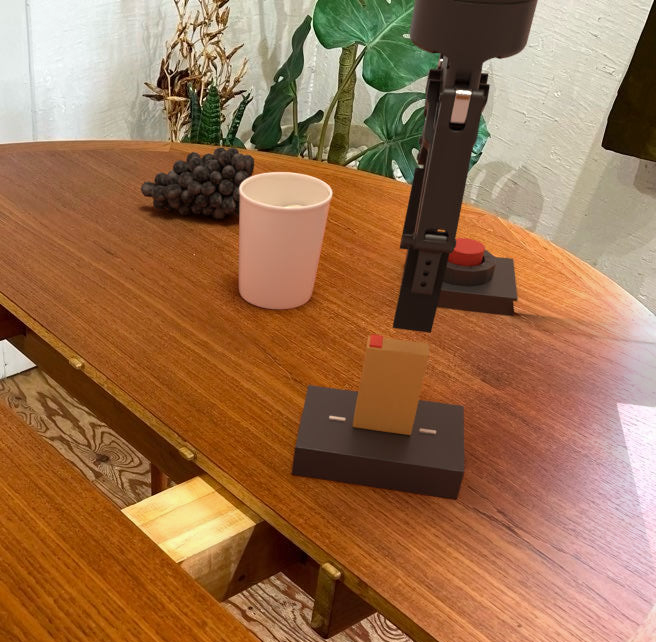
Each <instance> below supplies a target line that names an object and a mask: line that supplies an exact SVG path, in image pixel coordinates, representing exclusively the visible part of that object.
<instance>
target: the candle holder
mask: <svg viewBox="0 0 656 642" xmlns="http://www.w3.org/2000/svg"><path fill="white" fill-rule="evenodd" d="M239 195H240V206H239V216H238V218H239V219H238V221H239V222H238V292H239V294H240V296H241V298H242V299H244V301H246V302H247V303H248V304H251V305H253V306H256V307H259V308H262V309H267V310H290V309H296V308H298V307H301V306H304V305H305V304H306V303H308V302H309V301H310V299H311V298H312V296H313V292H314V288H315V283H316V278H317V272H318V267H319V263H320V257H321V253H322V247H323V243H324V242H323V241H324V237H325V231H326V227H327V223H328V215H329V211H330V208H331V207H330V205H331V201H332V199H333V189H332V187H331V186H330V185H329V184H328V183H327V182H325V181H323V180H322V179H320V178H317V177H315V176H311V175H308V174H304V173H298V172H289V171H273V172H272V171H271V172H263V173H258V174H254V175H251V176H250V177H249V178H247V179H246V180H244V181H243V182H242V183H241V185H240V187H239Z"/></svg>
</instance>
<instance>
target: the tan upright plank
mask: <svg viewBox="0 0 656 642" xmlns="http://www.w3.org/2000/svg"><path fill="white" fill-rule="evenodd" d="M429 359H430V343H429V342H420V341H411V340H405V339H395V338H389V337H388V338H387V337H384V335H382V334H381V335H380V334H372V333H371V334H370V335H368V337H367V341H366V346H365V352H364V358H363V363H362V367H361V368H362V369H361V373H360V380H359V386H358V391H357V392H358V396H357V402H356V407H355V413H354V420H353V427H355V428H362V429H369V430H376V431H383V432H390V433H398V434H405V435H411V433H412V428H413V424H414V419H415V415H416V411H417V406H418V402H419V400H420V397H421V393H422V388H423V384H424V380H425V376H426V371H427V368H428V367H427V366H428V362H429Z"/></svg>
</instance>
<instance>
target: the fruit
mask: <svg viewBox="0 0 656 642" xmlns="http://www.w3.org/2000/svg"><path fill="white" fill-rule="evenodd" d="M185 160H186V161H185ZM185 160H182V159H179V160H176V161H175V162H174V163H173V166H172V169H171V170H169V171H168V172H167V174H166V173H165V172H158V173H156V174H155V176H154V182H153V181H144V182H143V183H142V184H141V187H140V192H141V194H142V195H143V196H144V197H145V198H146V197H147V198H152V199H153V200H152V205H153V207H154V208H155V209H156V210H159V211H162V210H165V209H167V210H169V211H171V212H172V211H175V210H176V209H178V212H179V214H180V215H182V216H188V215H189V214H190V213H191V212H193V214H195V215H200V214H202V215H204V216H210V215H212V217H213V218H214V219H215V220H223V219H224V218H225V216H232V215H234V216H236V217H239V206H240V195H239V187H240V185H241V183H242V182H243V181H244V180H246V179H247V178H249V177H252V176H253V174H254V168H255V158H254V157H253V156H252V155H250V154H243V153H241V152H240V151H239V150H238V149H237V148H235V147H230V148H228V149H226V148H225V147H218V148H215V149H214V151H213V153H209V152H207V153H205V154H203V156H202V157H201V156H200V154H199V153H198V152H195V151H192V152H190V153H188V155H187V156H186V159H185Z"/></svg>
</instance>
